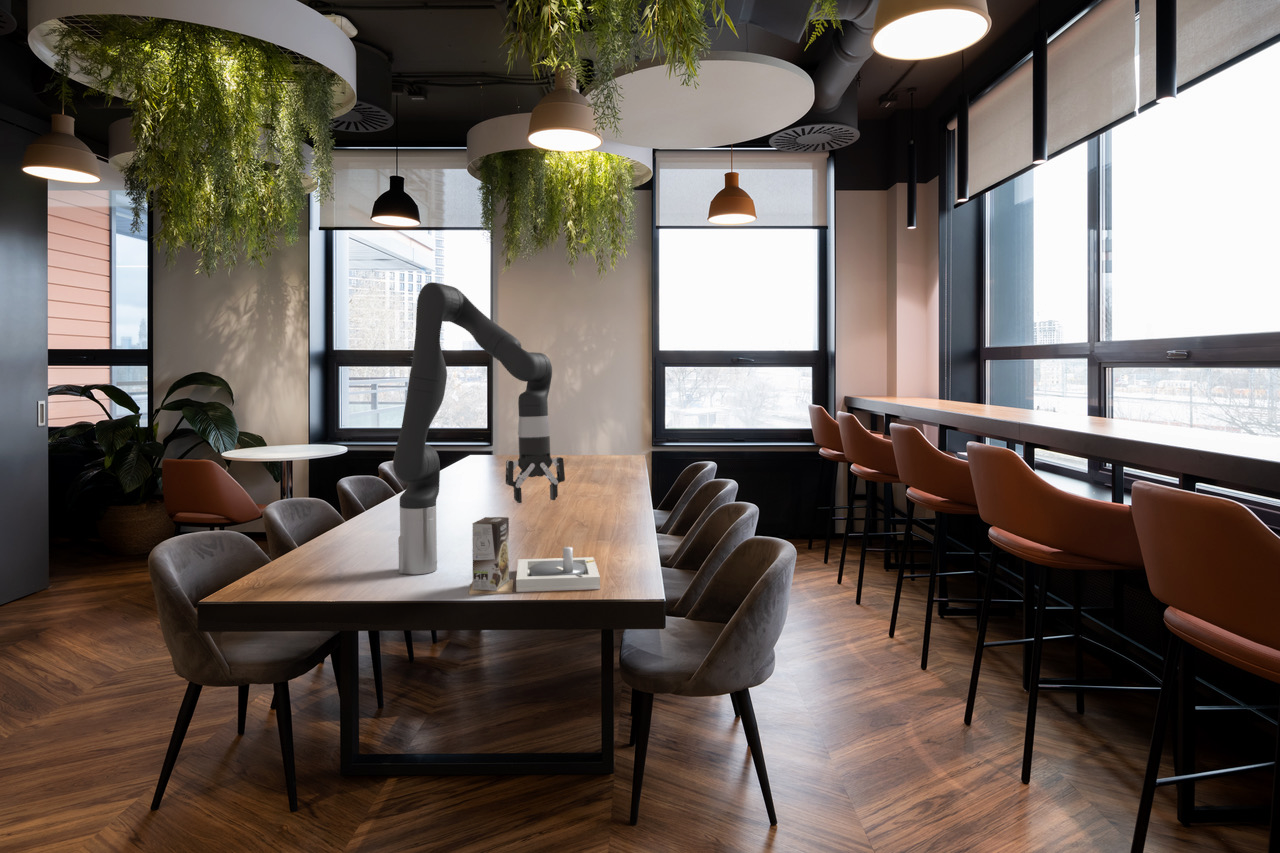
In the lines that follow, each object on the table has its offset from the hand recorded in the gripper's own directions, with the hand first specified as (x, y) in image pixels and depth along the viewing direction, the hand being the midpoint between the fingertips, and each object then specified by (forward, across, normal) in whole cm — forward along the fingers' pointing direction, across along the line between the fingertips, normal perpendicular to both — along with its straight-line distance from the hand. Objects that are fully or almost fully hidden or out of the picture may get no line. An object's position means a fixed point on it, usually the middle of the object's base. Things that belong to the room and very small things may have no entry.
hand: (536, 501), depth 180 cm
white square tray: (+21, +6, +4) cm, 22 cm away
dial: (+20, +6, +4) cm, 21 cm away
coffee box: (+20, -11, +3) cm, 23 cm away
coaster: (+21, -11, +3) cm, 24 cm away
